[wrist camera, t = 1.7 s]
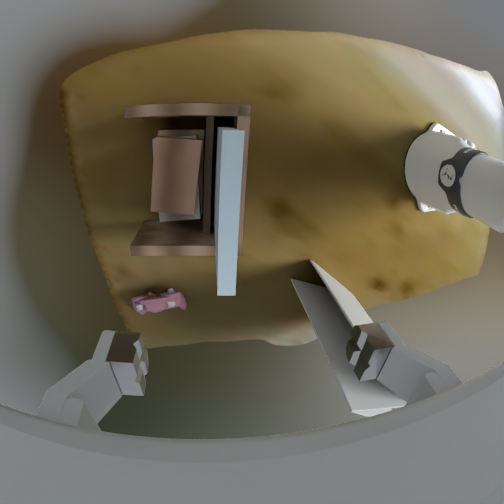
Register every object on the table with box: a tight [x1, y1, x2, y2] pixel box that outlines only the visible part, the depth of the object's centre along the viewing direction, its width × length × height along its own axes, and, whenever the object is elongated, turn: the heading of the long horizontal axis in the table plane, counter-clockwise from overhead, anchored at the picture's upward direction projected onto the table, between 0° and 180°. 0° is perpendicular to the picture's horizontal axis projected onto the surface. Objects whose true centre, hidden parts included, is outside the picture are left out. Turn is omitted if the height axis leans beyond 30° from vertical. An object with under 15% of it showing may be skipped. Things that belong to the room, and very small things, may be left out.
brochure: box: [291, 259, 407, 417], centre depth 43 cm, size 14×6×30 cm, turn 49°
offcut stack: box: [151, 129, 205, 222], centre depth 39 cm, size 7×13×8 cm, turn 176°
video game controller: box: [131, 288, 187, 315], centre depth 50 cm, size 10×5×7 cm, turn 96°
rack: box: [124, 103, 251, 256], centre depth 39 cm, size 15×20×10 cm
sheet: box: [214, 127, 245, 296], centre depth 33 cm, size 2×14×24 cm, turn 176°
